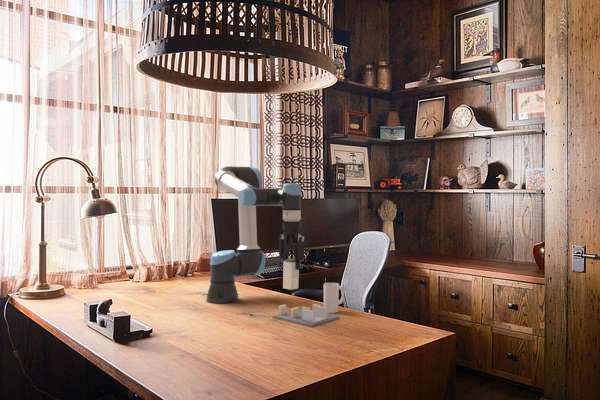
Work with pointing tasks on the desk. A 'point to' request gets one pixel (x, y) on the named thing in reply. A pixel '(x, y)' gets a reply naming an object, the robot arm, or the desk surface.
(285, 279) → the block
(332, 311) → the mug
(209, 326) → the desk surface
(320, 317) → the board
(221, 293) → the robot arm
